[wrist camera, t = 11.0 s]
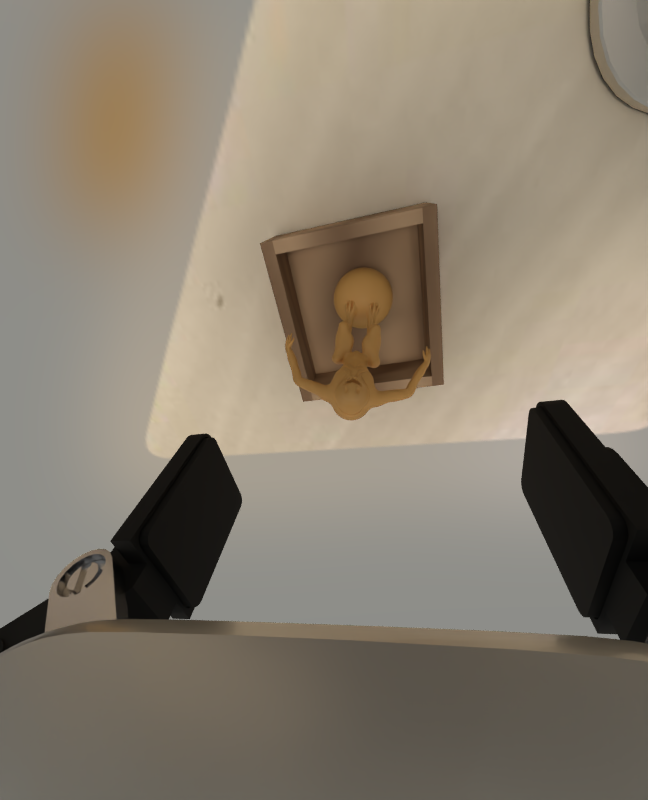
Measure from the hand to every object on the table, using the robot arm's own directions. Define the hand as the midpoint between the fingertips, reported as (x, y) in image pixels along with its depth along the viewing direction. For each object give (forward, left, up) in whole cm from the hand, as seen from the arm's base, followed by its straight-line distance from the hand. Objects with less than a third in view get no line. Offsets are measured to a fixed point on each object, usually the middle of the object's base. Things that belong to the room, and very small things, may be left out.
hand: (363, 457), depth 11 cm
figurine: (0, 0, -18) cm, 18 cm away
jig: (+1, 0, -19) cm, 19 cm away
